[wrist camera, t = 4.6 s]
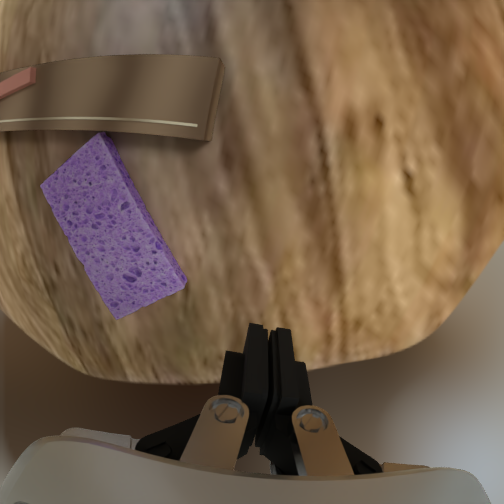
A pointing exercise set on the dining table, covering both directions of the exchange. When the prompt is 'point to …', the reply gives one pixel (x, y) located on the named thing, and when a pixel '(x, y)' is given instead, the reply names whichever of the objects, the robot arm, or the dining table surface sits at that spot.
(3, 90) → the carpenters pencil
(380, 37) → the dining table surface
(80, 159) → the sponges
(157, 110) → the walnut board
